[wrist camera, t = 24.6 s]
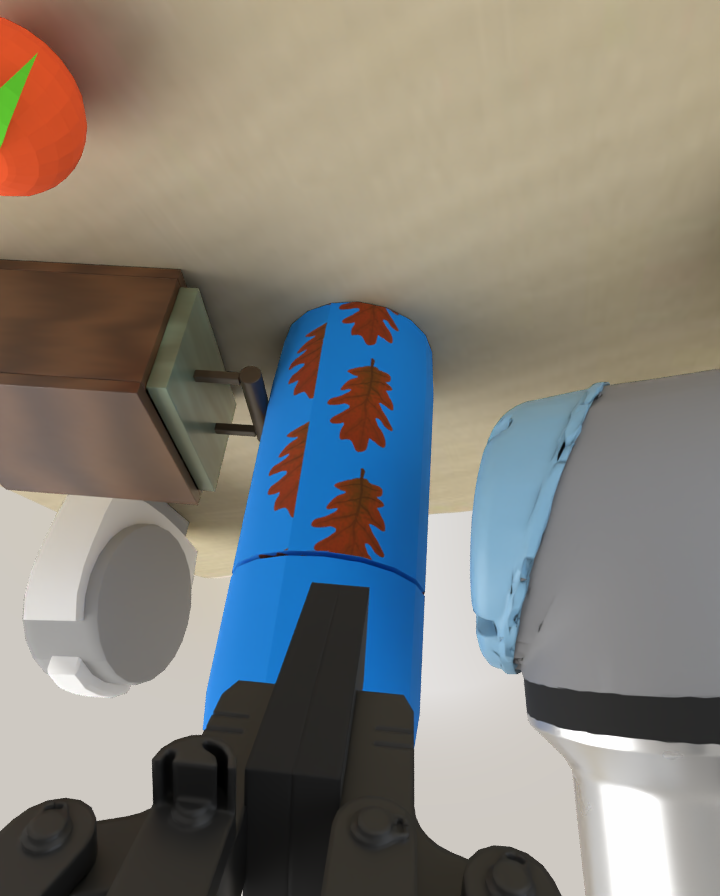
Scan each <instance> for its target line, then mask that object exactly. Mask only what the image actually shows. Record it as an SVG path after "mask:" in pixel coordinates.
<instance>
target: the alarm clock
mask: <svg viewBox="0 0 720 896" xmlns="http://www.w3.org/2000/svg"><path fill="white" fill-rule="evenodd" d="M188 525H189V522H188V521H187V520H186V519H184V518H183V517H182V516H181V515H180V514H179V513H177V512H176V511H175V510H174V509H173V508H172V507H170V506H169V505H168V504H167V503H166V502H155V501H143V500H130V499H118V498H105V497H93V496H80V495H67V497H66V499H65V500H64V502H63V504H62V506H61V507H60V509H59V511H58V512H57V514H56V516H55V518H54V520H53V522H52V525H51V527H50V528H49V531H48V533H47V535H46V537H45V539H44V541H43V543H42V545H41V547H40V550H39V552H38V555H37V557H36V559H35V562H34V564H33V567H32V570H31V574H30V577H29V581H28V585H27V588H26V592H25V596H24V608H23V624H24V631H25V639H26V641H27V644H28V646H29V649H30V652H31V654H32V656H33V658H34V660H35V661H36V662H37V663H38V665H39V666H40V667H41V668H42V670H43V671H44V672H45V673H47V674H49V676H50V677H51V678H52V679H53V681H54V682H55V683H56V684H57V685H58V687H59V688H61V689H64V690H66V691H68V692H71V693H73V694H78V695H83V696H89V697H106V698H113V697H116V696H119V695H122V694H125V693H127V692H128V691H129V689H130V687H131V685H138V684H141V683H143V682H147V681H150V680H152V679H153V678H155V677H156V676H157V675H158V674H160V673H161V672H162V671H164V670H165V668H166V667H167V666H168V665H169V663H170V662H171V661H172V659H173V658H174V657H175V655H176V653H177V651H178V649H179V647H180V645H181V643H182V641H183V637H184V634H185V631H186V628H187V625H188V620H189V613H190V608H191V589H192V584H193V579H194V572H195V565H196V558H197V552H198V551H197V550H196V549H195V547H194V546H193V545H192V544H191V542H190V541H189V540H188V539H187V538H186V533H187V529H188Z"/></svg>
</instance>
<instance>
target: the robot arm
mask: <svg viewBox="0 0 720 896" xmlns="http://www.w3.org/2000/svg"><path fill="white" fill-rule="evenodd" d="M470 550H471V551H470V581H471V599H472V606H473V611H474V612H475V613H476V623H477V624H476V634H477V638H478V642H479V647H480V650H481V652H482V654H483V656H484V657H485V658H486V660H487V661H488V663H489V664H490V665H492V666H493V667H497V668H500V669H502V670H503V671H504V672H505V673H507V674H518V673H520V672H522V674H523V677H524V685H525V696H526V706H527V715H528V721H529V722H530V724H531V726H533V727H534V728H535V729H536V730H537V731H538V732H539V733H540V734H541V735H542V736H543V737H544V738H545V739H546V740H547V741H548V742H549V743H550V744H551V745H552V746H553V747H554V748H556V750H557V751H559V752H560V754H562V755H563V756H564V758H565V759H566V761H567V762H568V764H569V766H570V767H571V769H572V773H573V782H574V791H575V801H576V810H577V820H578V829H579V839H580V848H581V857H582V867H583V876H584V885H585V894H586V896H720V369H714V370H707V371H701V372H695V373H688V374H682V375H675V376H669V377H663V378H656V379H650V380H642V381H635V382H628V383H620V384H613V385H610V384H609V382H600V383H595V384H593V385H592V386H591V387H590V388H588V389H585V390H580V391H575V392H570V393H566V394H561V395H556V396H552V397H547V398H542V399H538V400H532V401H527V402H524V403H522V404H520V405H517V406H515V407H514V408H512V409H511V410H509V411H508V412H507V413H506V414H505V415H503V416H502V418H501V419H500V420H499V421H498V423H497V424H496V426H495V427H494V429H493V430H492V432H491V435H490V437H489V439H488V442H487V446H486V447H485V449H484V452H483V456H482V460H481V464H480V468H479V473H478V477H477V483H476V489H475V496H474V505H473V514H472V527H471V545H470ZM369 590H370V587H361V586H349V585H338V584H327V583H315V582H312V583H311V586H310V589H309V592H308V594H307V597H306V600H305V603H304V605H303V608H302V611H301V614H300V617H299V619H298V622H297V625H296V628H295V630H294V633H293V636H292V639H291V641H290V644H289V647H288V650H287V653H286V655H285V658H284V661H283V664H282V666H281V669H280V672H279V675H278V678H277V680H276V683H275V684H272V683H262V682H252V681H242V680H238V681H237V682H236V683H235V684H233V685H232V686H231V687H230V688H229V689H227V690H226V691H225V692H224V693H223V694H222V695H221V697H220V699H219V701H218V703H217V705H216V707H215V709H214V711H213V715H211V717H210V719H209V722H208V724H207V726H206V729H205V730H204V732H203V734H202V735H191V736H188V737H184V738H180V739H177V740H174V741H173V742H171V743H170V744H168V745H166V746H165V747H163V748H161V750H160V751H159V752H158V753H157V754H156V756H155V757H154V758H153V759H152V778H153V805H152V807H151V808H150V809H148V810H146V811H144V812H141V813H138V814H134V815H130V816H126V817H120V818H114V819H108V820H102V821H96V817H95V815H94V812H93V810H92V808H91V807H90V806H89V805H87V804H85V803H84V802H82V801H81V800H76V799H69V798H61V799H55V800H49V801H45V802H43V803H41V804H38V805H36V806H33V807H31V808H29V809H27V810H26V811H24V812H23V813H22V814H20V815H19V816H18V817H16V818H15V819H13V820H12V821H11V822H10V823H9V824H8V825H7V826H6V827H4V828H3V829H2V830H1V831H0V896H241V893H242V890H243V896H561V894H560V892H559V890H558V888H557V886H556V884H555V882H554V880H553V879H552V877H551V876H550V874H549V873H548V872H547V870H546V869H545V868H544V866H543V865H542V864H540V863H539V862H538V861H537V860H535V859H534V858H533V857H531V856H530V855H529V854H527V853H525V852H522V851H519V850H517V849H514V848H512V847H506V846H490V847H487V848H483V849H480V850H478V851H477V852H476V853H475V854H474V855H473V856H471V857H470V858H469V859H466V858H463V857H461V856H459V855H456V854H454V853H452V852H450V851H448V850H446V849H444V848H442V847H440V846H439V845H437V844H436V843H435V842H434V841H432V840H431V839H430V838H429V837H428V836H427V835H426V834H425V832H424V831H423V830H422V829H421V827H420V825H419V823H418V821H417V819H416V815H415V809H414V711H413V710H412V708H411V706H410V704H409V703H408V701H407V699H406V698H405V696H404V695H400V694H390V693H380V692H370V691H362V690H363V682H364V668H365V653H366V637H367V621H368V606H369Z"/></svg>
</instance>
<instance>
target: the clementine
mask: <svg viewBox="0 0 720 896" xmlns="http://www.w3.org/2000/svg"><path fill="white" fill-rule="evenodd" d="M86 132H87V122H86V115H85V110H84V104H83V99H82V95H81V93H80V91H79V89H78V86H77V84H76V82H75V80H74V78H73V76H72V75H71V73H70V72H69V70H68V69H67V67H66V66H65V65H64V63H63V62H62V60H61V59H60V58H59V57H58V56H57V55H56V54H55V53H54V52H53V51H52V50H51V49H50V48H49V47H48V46H47V45H46V44H45V43H44V42H43V41H42V40H40V39H39V38H38V37H36V36H35V35H34V34H32V33H31V32H29V31H28V30H27V29H25V28H23V27H21V26H19V25H17V24H15V23H13V22H11V21H9V20H7V19H5V18H2V17H0V195H1V196H31V195H34V194H38V193H41V192H44V191H46V190H49V189H51V188H53V187H55V186H57V185H58V184H59V183H61V182H62V181H63V180H64V179H66V178H67V177H68V175H69V174H70V173H71V172H72V171H73V170H74V169H75V167H76V165H77V163H78V161H79V160H80V158H81V156H82V153H83V149H84V146H85V142H86Z"/></svg>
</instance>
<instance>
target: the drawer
mask: <svg viewBox="0 0 720 896" xmlns="http://www.w3.org/2000/svg"><path fill="white" fill-rule="evenodd" d="M240 383H241V386H242V389H243V392H244V396H245V399H246V402H247V406H248V409H249V412H250V416H251V419H252V422H253V425H241V424H232V420H233V416H234V412H235V408H236V402H235V399H234V396H233V392H232V389H231V386H230V384H233V385H240ZM145 391H146V393H147V395H148V397H149V399H150V401H151V402H152V404H153V406H154V408H155V410H156V412H157V414H158V416H159V418H160V420H161V421H162V423H163V425H164V427H165V429H166V431H167V433H168V435H169V437H170V439H171V441H172V442H173V444H174V446H175V448H176V450H177V452H178V454H179V456H180V458H181V460H182V462H183V463H184V464H186V466H187V467H188V469H189V471H190V473H191V475H192V477H193V479H194V481H195V483H196V485H197V487H198V489H199V490H203V491H215V490H216V486H217V482H218V477H219V473H220V469H221V465H222V461H223V457H224V453H225V449H226V445H227V441H228V437H229V435H239V436H253V437H256V436H257V439H258V440H259V441H260V440H261V435H262V430H263V426H264V421H265V417H266V412H267V407H268V403H269V401H268V397H267V393H266V389H265V385H264V381H263V377H262V373H261V370H260V369H259V368H257V367H255V366H248V367H245V368H243V369H242V370H241V371H240V372H226V371H225V368H224V365H223V362H222V359H221V356H220V353H219V349H218V346H217V343H216V340H215V337H214V334H213V331H212V328H211V325H210V322H209V319H208V316H207V313H206V310H205V306H204V303H203V300H202V297H201V294H200V291H199V288H185V287H180V289H179V292H178V295H177V298H176V301H175V304H174V307H173V310H172V312H171V315H170V318H169V321H168V324H167V327H166V330H165V333H164V336H163V338H162V341H161V344H160V347H159V350H158V353H157V356H156V359H155V362H154V365H153V367H152V370H151V373H150V376H149V379H148V382H147V385H146V389H145Z"/></svg>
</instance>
